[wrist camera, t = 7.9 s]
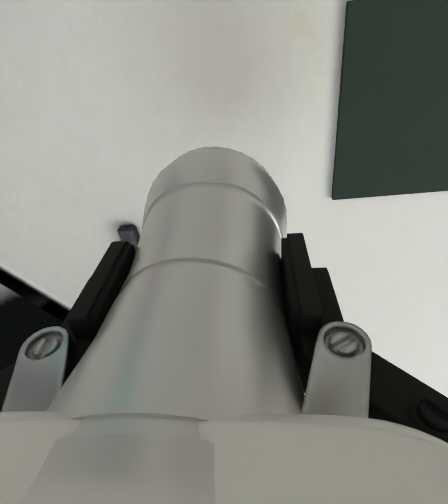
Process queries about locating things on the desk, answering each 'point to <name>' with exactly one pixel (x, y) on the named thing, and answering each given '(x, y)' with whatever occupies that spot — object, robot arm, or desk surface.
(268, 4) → the desk surface
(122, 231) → the usb stick
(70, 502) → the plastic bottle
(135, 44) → the desk surface
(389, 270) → the desk surface
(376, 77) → the mat
